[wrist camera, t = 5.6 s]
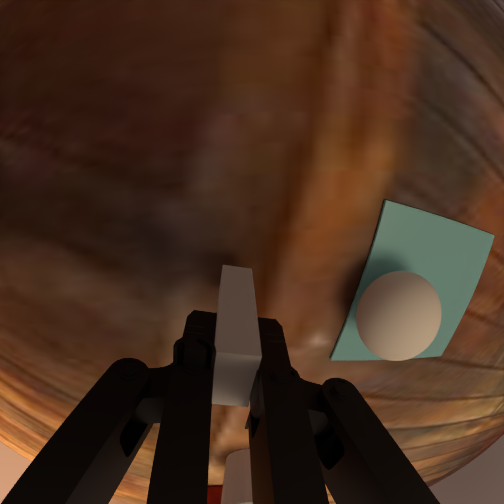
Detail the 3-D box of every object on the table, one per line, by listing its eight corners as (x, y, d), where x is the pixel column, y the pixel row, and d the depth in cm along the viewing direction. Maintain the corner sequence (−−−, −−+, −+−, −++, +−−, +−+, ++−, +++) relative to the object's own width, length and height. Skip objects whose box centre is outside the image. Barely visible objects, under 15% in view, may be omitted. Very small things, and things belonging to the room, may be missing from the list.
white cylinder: (222, 444, 24) (221, 502, 17) (287, 445, 25) (296, 500, 18) (219, 468, 26) (218, 516, 20) (275, 469, 27) (281, 516, 20)
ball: (430, 265, 17) (361, 250, 17) (471, 302, 12) (392, 289, 12) (402, 331, 19) (338, 323, 19) (429, 379, 14) (353, 377, 14)
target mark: (384, 199, 15) (386, 200, 15) (493, 234, 17) (494, 235, 16) (329, 358, 20) (330, 360, 19) (439, 354, 21) (440, 355, 21)
